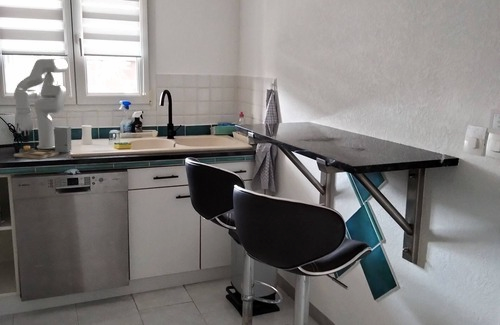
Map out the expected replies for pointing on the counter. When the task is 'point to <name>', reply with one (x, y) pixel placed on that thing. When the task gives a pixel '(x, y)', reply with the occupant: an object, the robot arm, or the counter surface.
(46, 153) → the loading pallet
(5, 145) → the counter surface
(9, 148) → the counter surface
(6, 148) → the counter surface
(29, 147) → the button
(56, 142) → the skincare box
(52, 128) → the robot arm
